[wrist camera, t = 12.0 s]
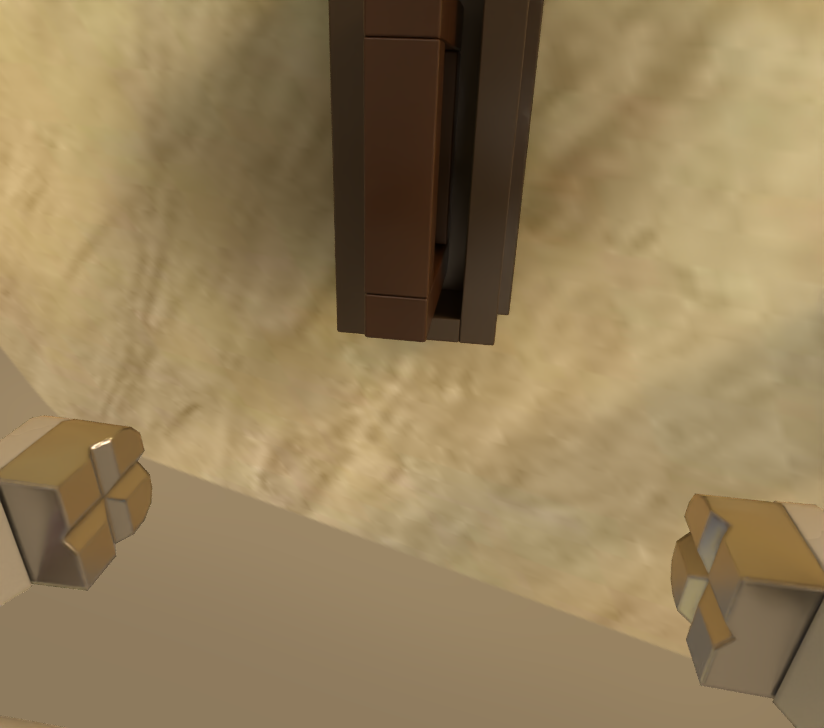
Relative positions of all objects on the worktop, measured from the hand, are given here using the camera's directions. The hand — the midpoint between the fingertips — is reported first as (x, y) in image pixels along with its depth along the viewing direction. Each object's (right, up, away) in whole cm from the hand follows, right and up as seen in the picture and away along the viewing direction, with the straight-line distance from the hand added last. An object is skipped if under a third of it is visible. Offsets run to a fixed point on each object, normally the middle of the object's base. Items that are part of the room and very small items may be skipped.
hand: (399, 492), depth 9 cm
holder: (+1, +11, +16) cm, 19 cm away
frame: (+1, +11, +15) cm, 18 cm away
